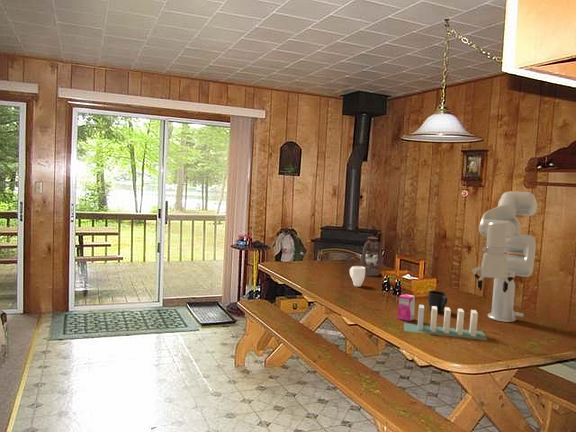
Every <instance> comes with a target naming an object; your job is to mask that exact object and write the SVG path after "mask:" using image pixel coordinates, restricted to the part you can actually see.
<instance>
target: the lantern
mask: <svg viewBox="0 0 576 432" xmlns="http://www.w3.org/2000/svg"><path fill="white" fill-rule="evenodd" d="M371 225H372V223H370V224H369V225H368V228H367V231H369V229H370V226H371ZM376 226H377V227H379V225H378V224H376ZM377 233H379V228H377ZM378 235H379V234H377V235H375V236H373V235H371V236H370V235H369V234H367V236H368V237H367V239H368V240H367V241H366V242H365V243H364V245H363V249H362V253H361V254H362V255H361V258H360V259H361V260H360V266H362V267H365V277H378V276H379V274H380V273H379V269H380V268H381V267H382V247H381V243H380V242H379V241H378V239H379V238H378Z"/></svg>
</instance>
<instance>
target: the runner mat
mask: <svg viewBox="0 0 576 432" xmlns="http://www.w3.org/2000/svg"><path fill="white" fill-rule="evenodd" d="M469 330H470V329H464V328H463V335H458V334H457V332H456V327H455V328H453V327H450V328H449V334H448V333H444V331H443V326H436V332H431V329H430V325H427V324H426V325H425V324H423V331H421V330H418V323H408V322H403V332H410V333H418V334H429V335H436V336H446V337H455V338H464V339H465V338H466V339H474V340H483V341H488V338H487V337H486V335H485V333H484V332H483V331H482V330H477V331H476V336H471V335H470V333H469Z"/></svg>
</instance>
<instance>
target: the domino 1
mask: <svg viewBox="0 0 576 432" xmlns="http://www.w3.org/2000/svg"><path fill="white" fill-rule="evenodd" d="M424 315H425V305H424V304H418V313H417V324H418V330H421V331H423V325H424V319H425V318H424Z"/></svg>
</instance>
